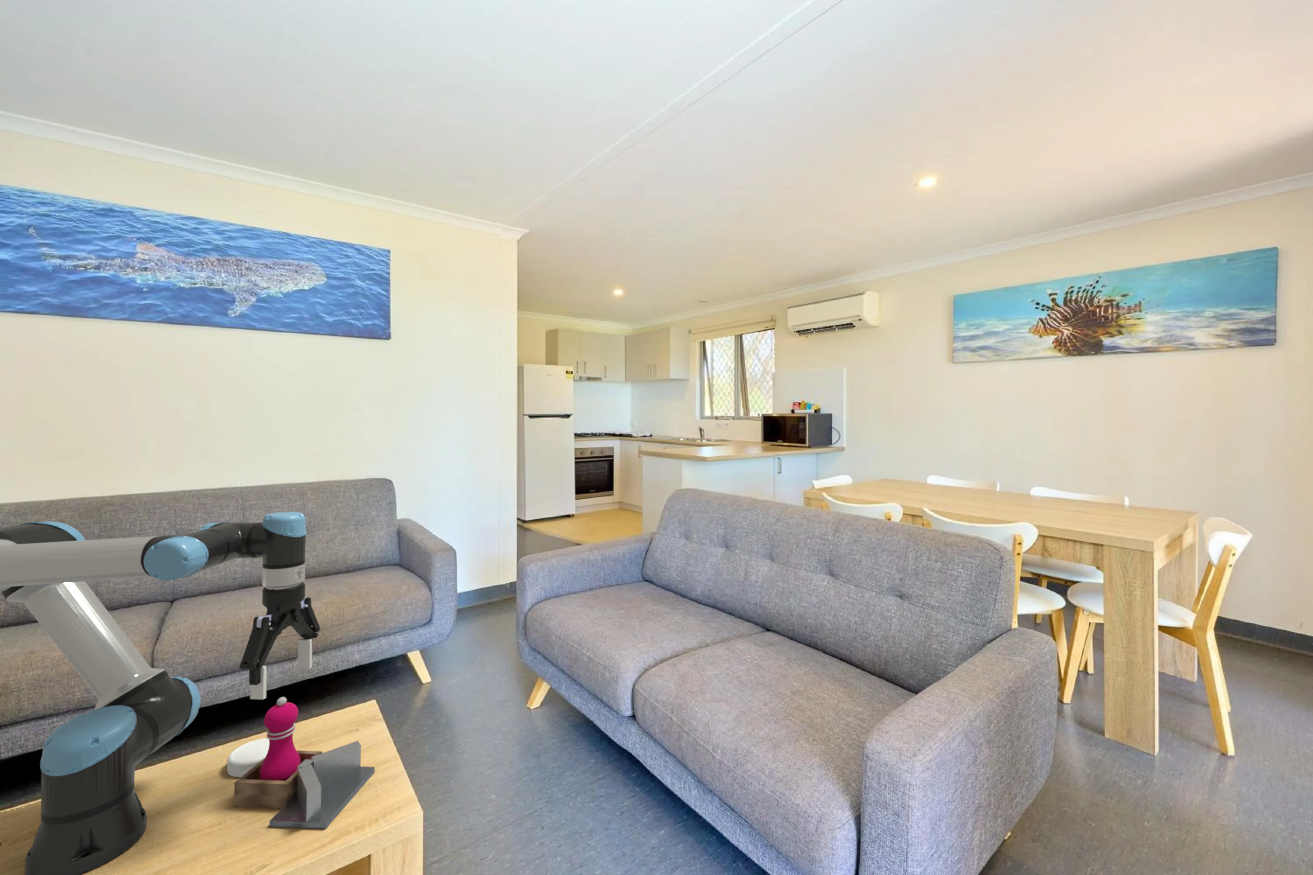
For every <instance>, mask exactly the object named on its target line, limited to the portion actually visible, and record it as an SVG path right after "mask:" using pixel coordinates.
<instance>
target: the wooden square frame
mask: <svg viewBox="0 0 1313 875" xmlns="http://www.w3.org/2000/svg"><path fill="white" fill-rule="evenodd" d="M296 751H297V752H298V754H299V756H300V761H301V763H302V762H303V761H304V760H305V759H308V760H311V757H313V756H316V755H319V754H322V753H323V751H321V750H319V751H317V750H297V749H296ZM264 759H265V758H264ZM264 759H263V760H261V761H260V762H259V763H258V764H257V765H255V766H254V767H253V768H252V769H250V770H249V771H248V772H247V773H245V774H244V775H243V776H242V777H238V779H236V781H235V782H234V785H233V786H234V791H233V793H234V794H233V798H234V800H233V807H239V808H241V807H244V808H263V809H264V808H269V809H282V808H283V807H284V806H285V805H286V804H287V803H288V802H289V801H290V800H291V799H292V798H293V797H294V796H295V795H297V771H298V770H297V771H296V772H295V773H294V774H293V775H292V776H291V777H290V778H288V779H287V780H286V781H276V780H260V770H261V766H262V764H263V762H264Z"/></svg>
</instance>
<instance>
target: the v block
mask: <svg viewBox="0 0 1313 875" xmlns="http://www.w3.org/2000/svg"><path fill="white" fill-rule="evenodd" d="M361 752H362V745H361V743H360V742H359V740H356V741H353V742H351V743H348V744H344V745H342V746H339V747H336V748H333V749H330V750H328V751H324V752H322V754H319V755H316V756H313V757H311V760H308V759H305V760H304V761H303V762H302V763H301V764H300V765H299V766H298V771H297V795H295V796H294V797H293V798H292V799H291V800H290V801H289V802H288V803H287V804H286V805H285V806H284V807H283V808H280V810H279V811H278V812H277V813H276V814H274V815H273V817H272V818H271V819H270V820H269V828H286V829H287V828H288V829H290V828H291V829H311V830H312V829H315V830H316V829H317V830H318V829H319V830H326V829H327V828H328V827H329V826H330V825H331V824H332V823H333V821H334V820H335V819H336V818H337V817H338V815H339V814H340V813H341V812H342V811H343V810H344V809H345V807H346V806H348V804H349V802H350V801H351V800H352V799H353V798H354V797H355V796H356V795H357V793H358V792H359V791H360V790H361V789H362V788H363V787H364V785H366V783H367V782H368V781H369V779H370V778H371V777H372V776H373V775H374V774H375V770H376V769H375V768H376V767H375V766H362V764H361V760H362V758H361V757H362V753H361Z"/></svg>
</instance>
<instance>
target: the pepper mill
mask: <svg viewBox="0 0 1313 875" xmlns="http://www.w3.org/2000/svg"><path fill="white" fill-rule="evenodd" d="M287 701H288V699H287V698H286V697H285V696H282V697H279V698H278V699H277V701H276V704H274V706H272V707H271V708H269V709H268V711H267V712H266V714H265V715H264V719H263V722H264V723H263V724H264V726H265V727H266V738H268V739H269V749H268V753H267V755H266V757H265V759H264V762H263V764H262V766H261V770H260V780H276V781H286V780H287V779H288V778H290V777H291V776H292V775H293V774H294V773H295V772H296V771H297V770H298V766H299V765H300V764H301V761H300V756H299V754H298V752H297V751H298V750H297V749H296V747H295V745H294V740H293V739H294V737H293V734H294V733H295V731H296V723H295V722H296V721H297V719H298V717H299V709H298V707H297V705H296V704H295V703H293V702H287ZM296 750H297V751H296Z"/></svg>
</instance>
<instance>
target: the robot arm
mask: <svg viewBox="0 0 1313 875" xmlns="http://www.w3.org/2000/svg"><path fill="white" fill-rule="evenodd" d="M307 534H308V532H307V527H306V516H305V515H304V513H302V512H298V511H279V512H271V513H268V514H264V517H263V520H262V521H261V522H235V521H234V522H232V521H231V522H229V521H221V522H209V523H206V524H204V525H202V527H201V528H200V529H198V530H197V531H194V532H190V533H185V534H171V535H169V534H168V535H153V536H139V537H138V536H137V537H135V536H134V537H118V538H104V539H103V538H102V539H101V538H100V539H85V537H84V536H83V534H81V532H80V531H78V530H77V529H76V528H75V527H73V526H71V525H69V524H67V523H63V522H60V521H54V520H53V521H52V520H48V521H32V522H31V521H30V522H24V523H19V524H16V525H10V526H4V527H0V594H1V595H2V596H3V597H4V599H5V600H6V602H8V603H18V604H24V605H25V607H26V608H27V610H28V611H29V612H30V613H31V614H32V616H33V617H34V618H35V619H36V621H37V622H38V624H40V626H41V627H42V629H43V630H44V631H45V633H46V634H47V635H48V636H49V638H50V639H51V640H52V641H53V643H54V644H55V645H56V647H57V648H58V649H59V651H60V652H61V653H62V654H63V655H64V657H65V658H66V660H67V661H68V662H69V663H70V665H71V666H72V667H73V669H74V670H75V671H76V673H77V674H78V675H79V676H80V678H82V680H83V681H84V683H85V684H86V685H87V687H88V688H89V689H90V690H91V691H92V693H93V694H94V696H96V698H97V703H96V704H95V707H94V709H93V710H91V711H90V712H89V713H82V714H79V715H77V716H76V717H73V718H71V719H69V720H67V721H66V722H64V723H63V724H61V725H60V726H58V727H57V728H56V729H55V730H53V731H52V732H50V734H49V735H48V737H47V738H46V739H45V741H44V744H43V747H42V753H41V754H42V755H41V758H40V762H39V767H40V801H41V802H40V806H41V808H40V810H41V812H40V824H39V826H38V828H37V831H36V833H35V837H34V839H33V843H32V846H31V847H30V849H29V850H28V852H27V854H26V856H25V860H24V875H81V874H84V873H86V872H88V871H89V872H90V871H92V870H94V869H96V868H98V867H100V866H103V865H105V864H107V863H108V862H110V861H112V860H113V859H115V858H117V857H118V856H120V855H122V854H123V853H125V852H127V851H128V850H129V849H130V848H131V847H132V846H134V845H135V844H136V843H137V842H139V841H140V839H141V838H142V837H143V835H144V834H145V832H146V830H147V817H148V816H147V811H146V810H145V809H144V807H143V805H142V803H141V800H140V798H139V797H138V796H139V795H138V794H137V792H136V791H135V774H136V773H135V770H136V769H135V767H137V765H138V764H139V763H141V762H142V761H143V760H145V759H146V758H147V757H149V756H150V755H152V754H153V753H154V752H156V751H157V750H159V749H160V748H161V747H162V746H164V745H166V743H168V742H169V741H171V740H173V739H174V738H175V737H178V735H180V734H181V733H182V732H183V731H184V730H185V729H186V728H188V727H189V725H190V724H191V723H192V722H193V721H194V720H195V718H196V717H197V716H198V713H199V709H200V707H201V694H200V690H199V689H198V686H197V685H196V684H195V683H194V682H193V681H192V680H191V679H189V678H187V677H184V678H182V677H181V676H170V674H169V673H168V672H167V670H166V669H165V668H155V667H151V666H150V665H149V664H148V662H147V661H146V659H145V658H144V657H143V656H142V654H141V653H140V652H139V650H138V649H137V648H136V646H135V645H134V643H133V642H132V641H131V639H129V637H128V636H127V635H126V633H125V632H124V631H123V629H122V628H121V627H120V626H119V624H118V622H117V621H116V620H115V619H114V618H113V616H112V615H111V613H110V612H109V611H108V610H107V608H106V607H105V606H104V604H103V603H102V601H101V600H100V599H99V597H98V596H97V595H96V594H95V593H94V591H93V590H92V589H91V587H90V585H88V583H87V582H96V581H108V580H109V581H111V580H123V579H138V578H139V579H140V578H155V579H157V580H160V581H166V582H167V581H175V580H177V579H178V580H179V579H184V578H188V577H191V576H192V575H195V574H196V573H197V574H198V573H200V572H202V571H206V570H207V569H210V568H213V567H216V566H219V565H221V564H223V563H226V562H229V561H232V560H236V559H260V558H262V574H261V575H262V578H261V580H262V581H261V582H262V583H261V585H262V586H263V589H262V591H261V592H262V594H261V595H262V597H261V598H262V599H261V605H263V606H264V607H265V608H266V613H265V615H263V616H255V617H254V618H253V619H252V620H253V622H252V629H251V632H250V635H249V638H248V641H247V644H246V647H245V650H244V651H243V652H244V653H243V656H242V658H241V661H240V664H239V669H240V670H248V673H249V674H248V679H249V680H248V684H249V686H250V688H249V689H250V691H249V692H250V696H249V699H250V700H264V699H266V698H267V668H268V667H267V665H264V664H265V663H266V660H267V658H268V656H269V655H270V652H271V650H272V648H273V646H274V644H275V642H276V640H277V638H278V637H279V635H281V634H282V633H283V631H284V630H286V629H287V628H288V627H292V628H293V629H294V631H295V632H296V633H297V634H298V635H299V636H300V638H299V639H298V642H297V646H298V648H297V669H304V670H310V669H312V667H313V666H312V665H313V646H314V645H313V644H314V642H313V640H314V639H317V638H318V636H319V632H321V627H320V624H319V622H318V620H317V617H316V615H315V612H314V609H313V607H312V598H311V597H308V596H307V597H306V583H304V582H305V580H306V540H307V539H306V538H307V537H306V536H307Z"/></svg>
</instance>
